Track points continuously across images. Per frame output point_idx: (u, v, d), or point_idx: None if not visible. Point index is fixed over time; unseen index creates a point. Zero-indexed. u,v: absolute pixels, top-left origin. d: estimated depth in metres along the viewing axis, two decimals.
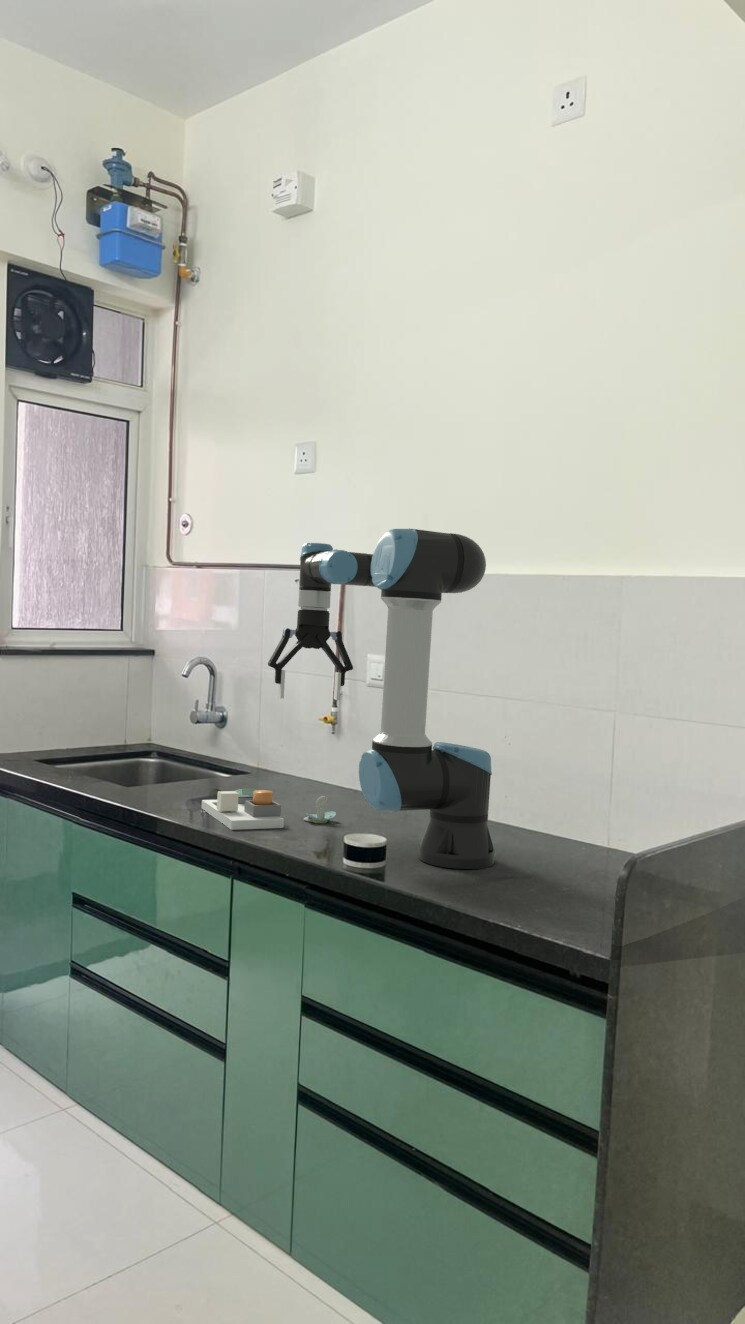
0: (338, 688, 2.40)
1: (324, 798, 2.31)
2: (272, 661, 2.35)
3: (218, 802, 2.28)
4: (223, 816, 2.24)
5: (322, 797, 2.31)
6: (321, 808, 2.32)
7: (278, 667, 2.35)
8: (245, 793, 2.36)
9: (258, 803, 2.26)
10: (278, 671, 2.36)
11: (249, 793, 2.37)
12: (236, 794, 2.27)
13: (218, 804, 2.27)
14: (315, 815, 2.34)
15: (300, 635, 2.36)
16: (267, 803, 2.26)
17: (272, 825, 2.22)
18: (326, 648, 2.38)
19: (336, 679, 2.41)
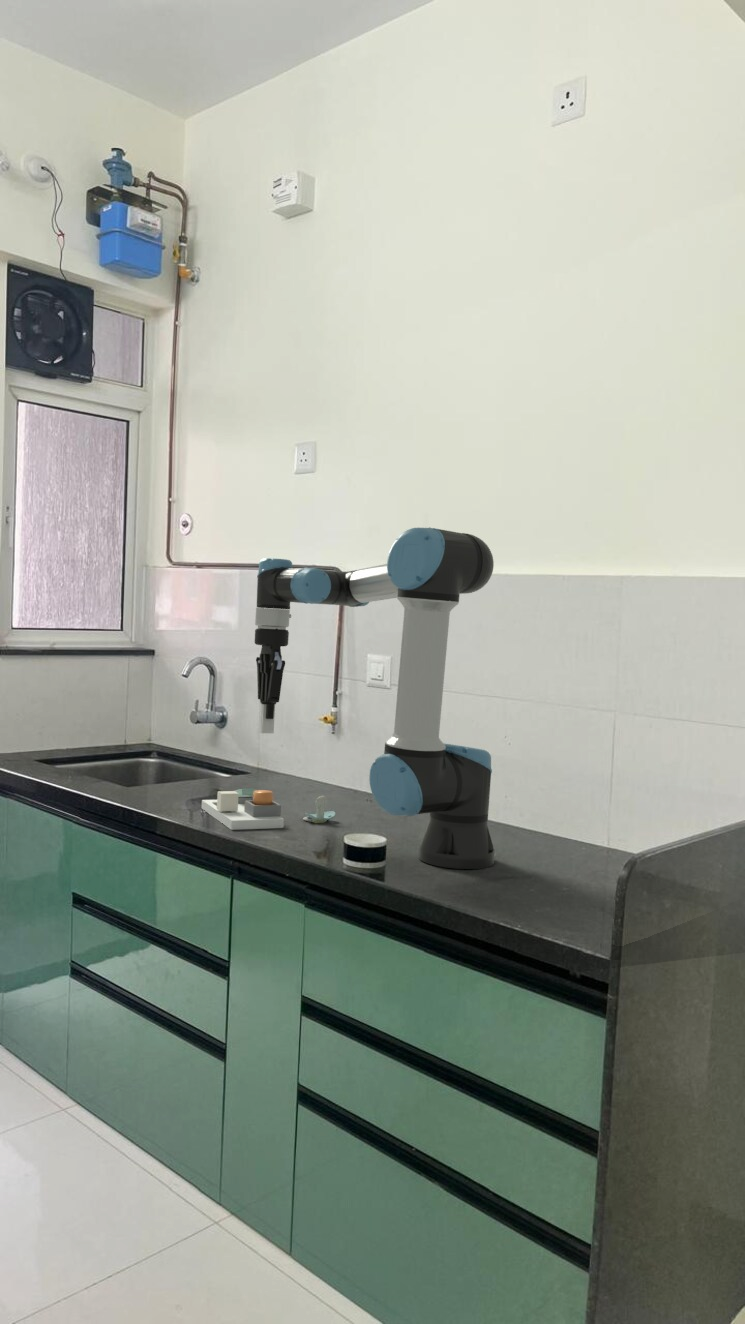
0: (262, 720, 2.26)
1: (323, 798, 2.32)
2: (258, 694, 2.29)
3: (218, 802, 2.28)
4: (223, 816, 2.24)
5: (321, 797, 2.32)
6: (320, 808, 2.32)
7: (260, 701, 2.28)
8: (245, 793, 2.36)
9: (258, 803, 2.26)
10: None
11: (249, 793, 2.37)
12: (236, 794, 2.27)
13: (218, 804, 2.27)
14: (314, 815, 2.34)
15: None
16: (267, 803, 2.26)
17: (272, 825, 2.22)
18: (264, 671, 2.25)
19: None
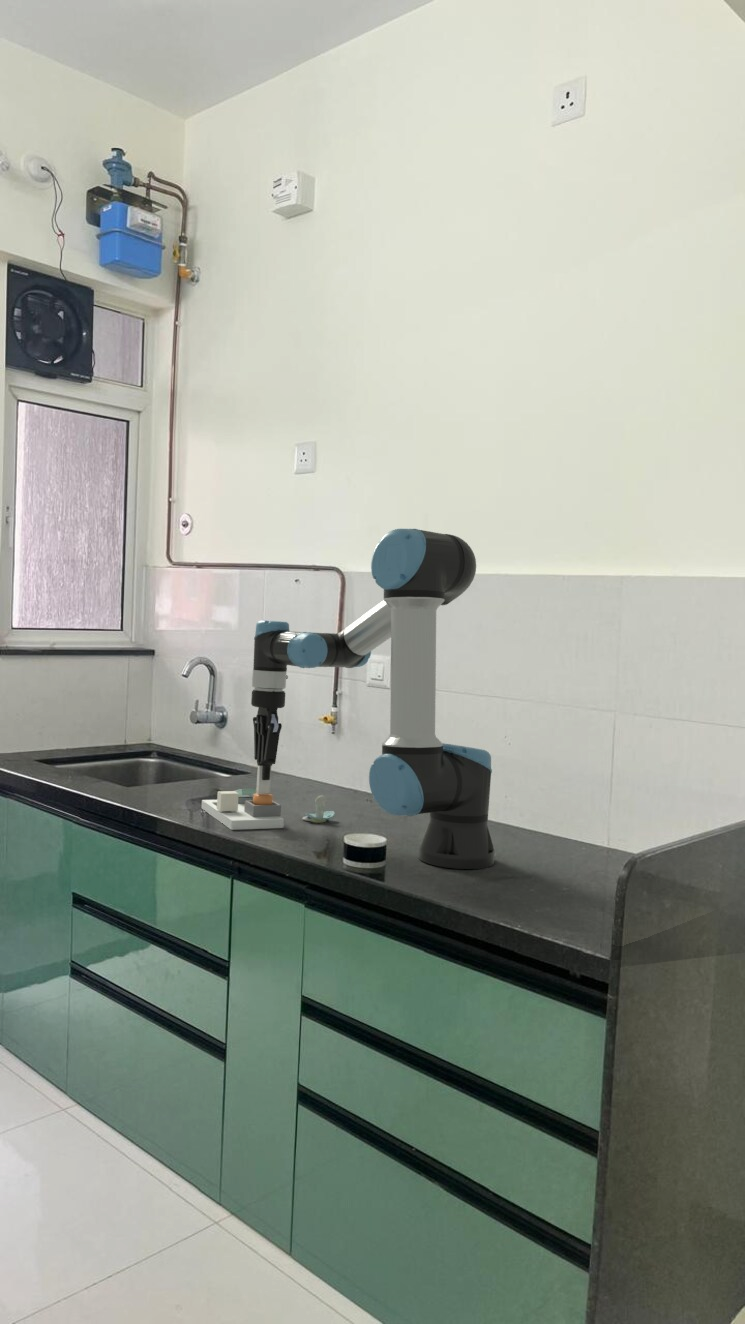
0: (258, 781, 2.27)
1: (323, 797, 2.32)
2: None
3: (218, 802, 2.28)
4: (223, 816, 2.24)
5: (321, 796, 2.32)
6: (320, 807, 2.32)
7: (257, 761, 2.28)
8: (245, 793, 2.36)
9: None
10: None
11: (249, 793, 2.37)
12: (236, 794, 2.27)
13: (218, 804, 2.27)
14: (314, 815, 2.35)
15: None
16: None
17: (272, 825, 2.22)
18: (260, 732, 2.25)
19: None
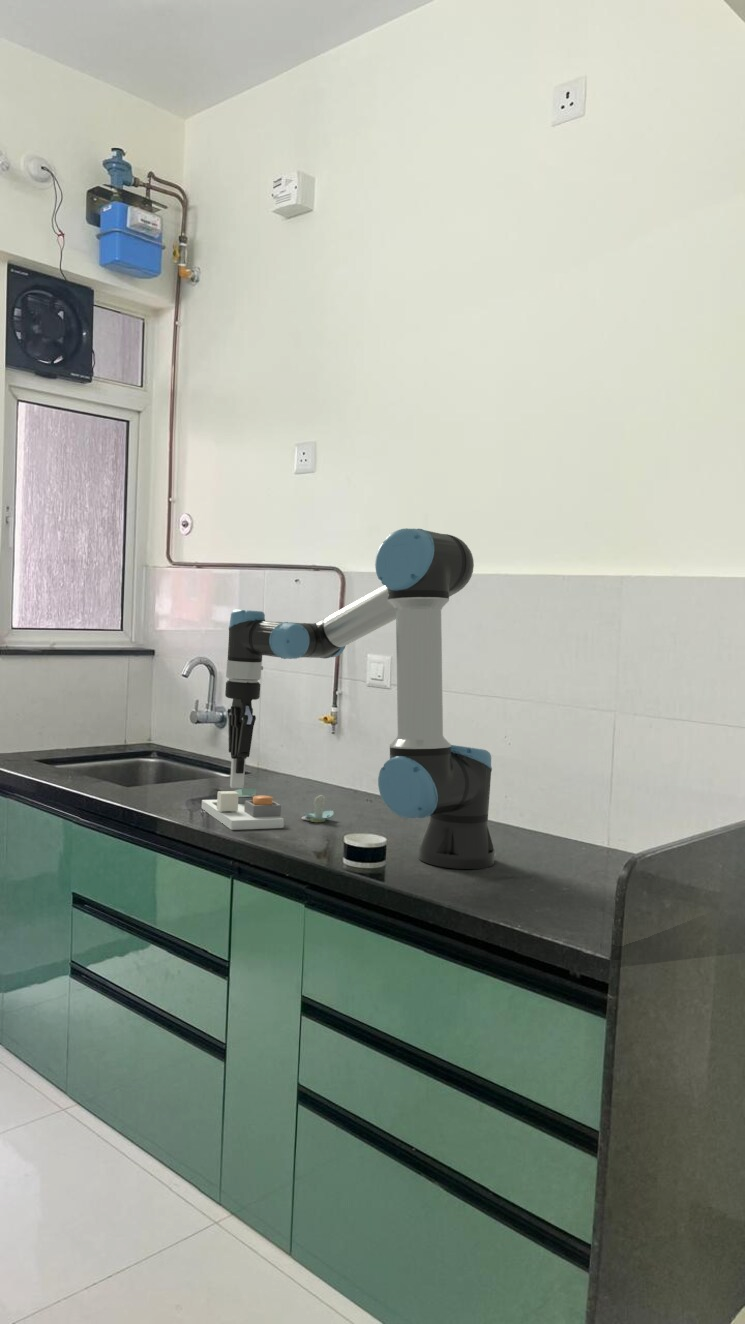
0: (231, 775, 2.21)
1: (322, 797, 2.32)
2: (229, 747, 2.24)
3: (218, 802, 2.28)
4: (223, 816, 2.24)
5: (320, 796, 2.32)
6: (319, 807, 2.32)
7: (231, 754, 2.22)
8: (245, 793, 2.36)
9: None
10: None
11: (249, 793, 2.37)
12: (236, 794, 2.27)
13: (218, 804, 2.27)
14: (313, 814, 2.35)
15: None
16: None
17: (272, 825, 2.22)
18: (234, 724, 2.20)
19: None
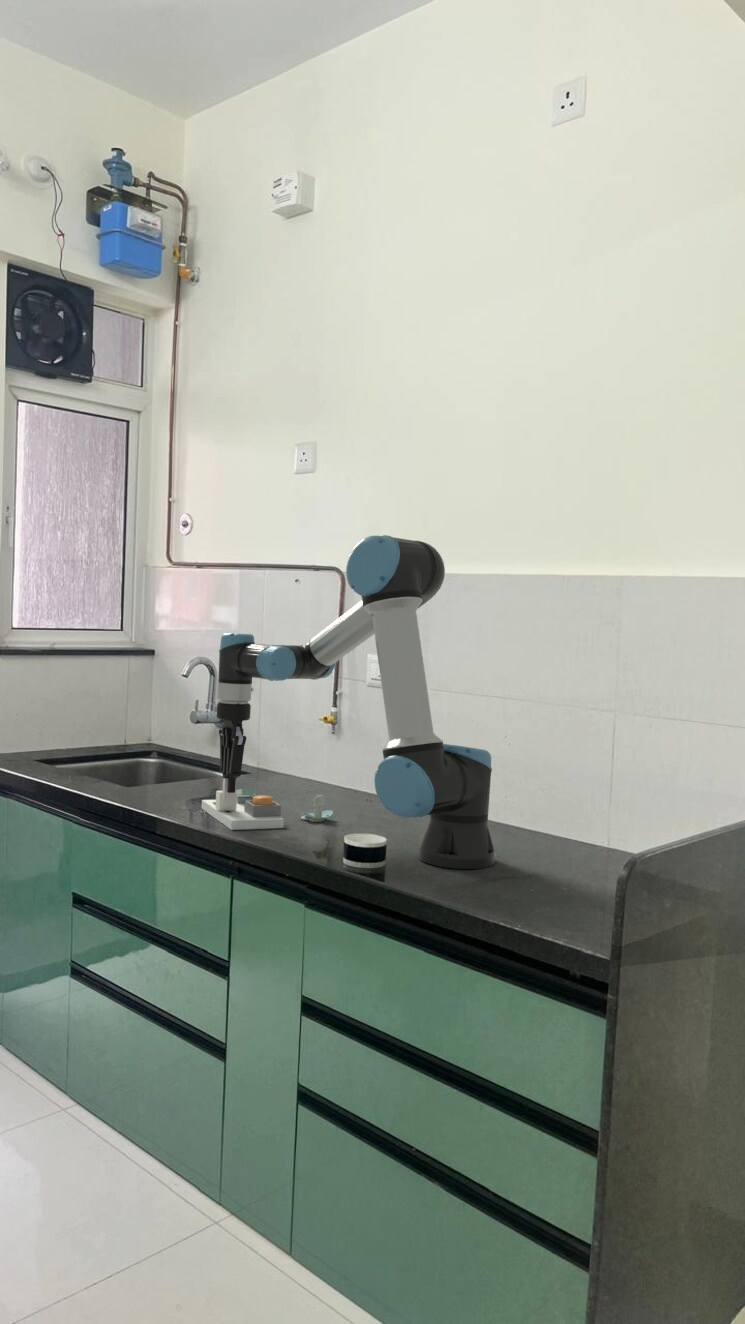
0: (223, 794, 2.26)
1: (321, 797, 2.33)
2: (220, 766, 2.30)
3: (217, 801, 2.29)
4: (223, 816, 2.24)
5: (319, 796, 2.33)
6: (318, 807, 2.33)
7: (222, 774, 2.28)
8: (245, 793, 2.36)
9: None
10: None
11: (249, 793, 2.37)
12: None
13: (217, 803, 2.28)
14: (312, 814, 2.35)
15: None
16: None
17: (272, 825, 2.22)
18: (225, 745, 2.25)
19: None
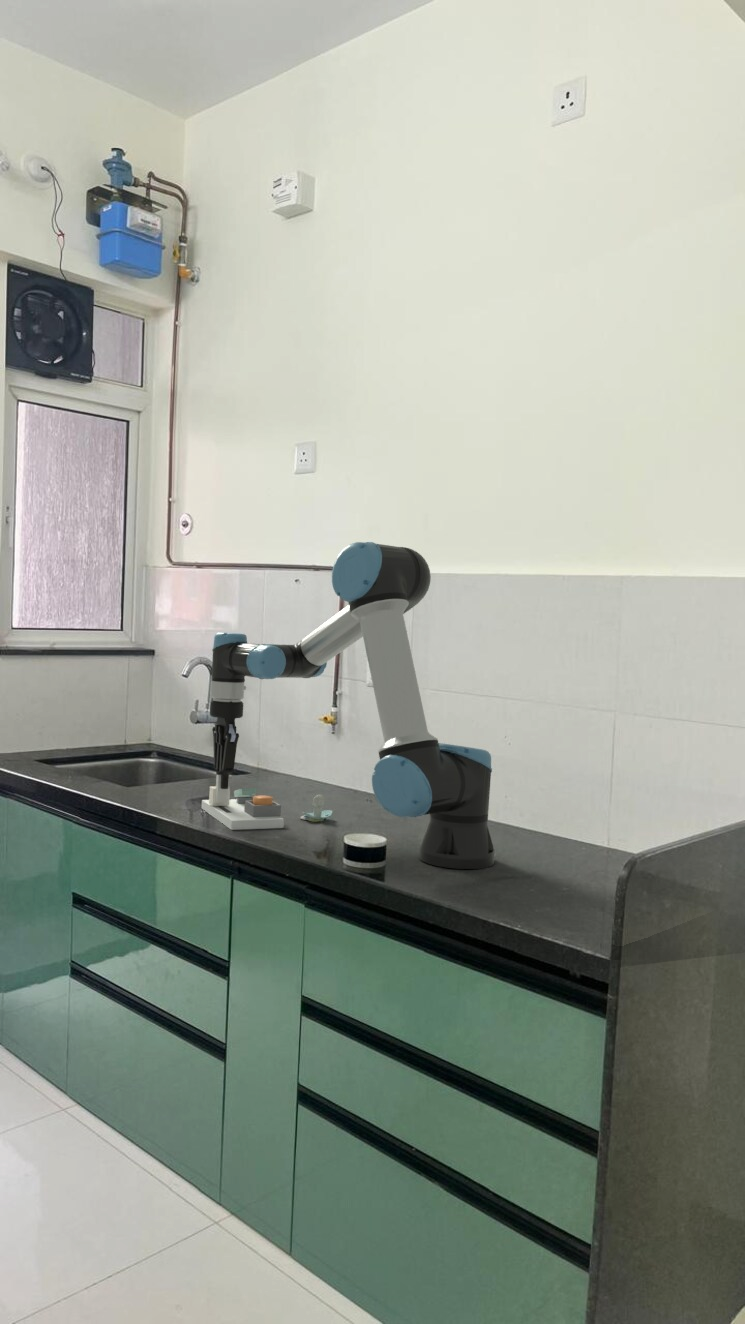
0: (217, 790, 2.31)
1: (320, 797, 2.33)
2: (214, 763, 2.34)
3: (210, 797, 2.34)
4: (223, 816, 2.24)
5: (318, 796, 2.33)
6: (317, 807, 2.33)
7: (216, 770, 2.33)
8: (245, 793, 2.36)
9: None
10: None
11: (249, 793, 2.37)
12: None
13: (210, 798, 2.33)
14: (312, 814, 2.36)
15: None
16: None
17: (272, 825, 2.22)
18: (219, 742, 2.30)
19: None
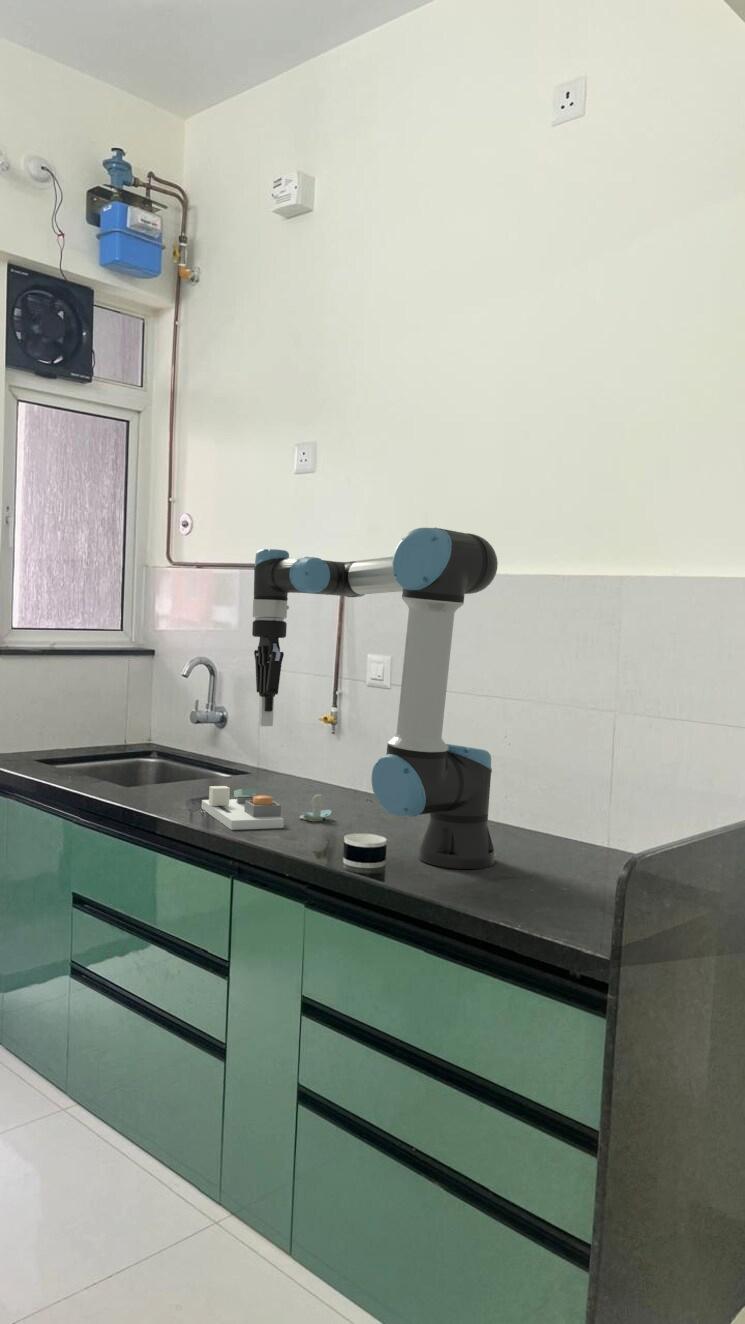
0: (260, 713, 2.23)
1: (320, 796, 2.33)
2: (256, 687, 2.27)
3: (210, 797, 2.34)
4: (223, 816, 2.24)
5: (318, 795, 2.33)
6: (317, 806, 2.33)
7: (259, 693, 2.25)
8: (245, 793, 2.36)
9: None
10: None
11: (249, 793, 2.37)
12: (227, 789, 2.34)
13: (210, 798, 2.34)
14: (311, 813, 2.36)
15: None
16: None
17: (272, 825, 2.22)
18: (262, 663, 2.22)
19: None
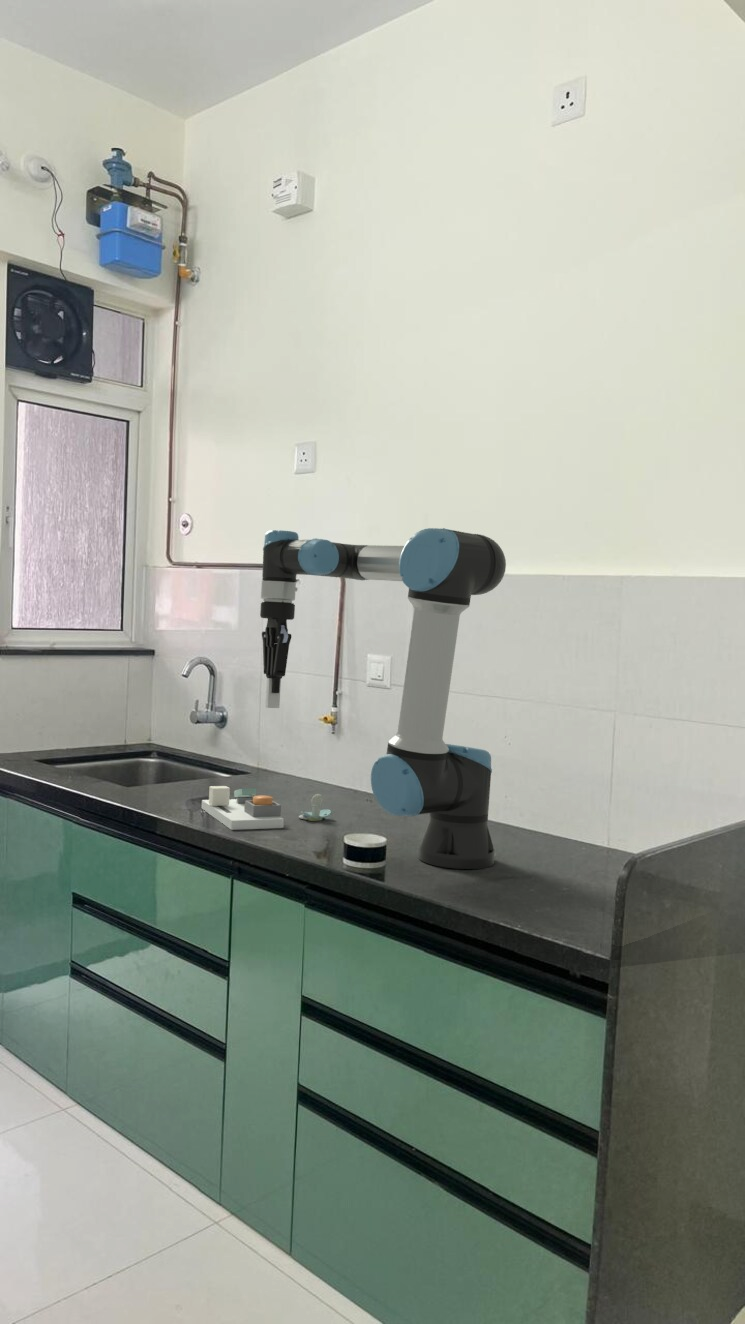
0: (267, 695, 2.23)
1: (319, 796, 2.34)
2: (264, 668, 2.26)
3: (210, 797, 2.34)
4: (223, 816, 2.24)
5: (317, 795, 2.34)
6: (316, 806, 2.34)
7: (266, 675, 2.25)
8: (245, 793, 2.36)
9: None
10: None
11: (249, 793, 2.37)
12: (227, 789, 2.34)
13: (210, 798, 2.34)
14: (310, 813, 2.36)
15: None
16: None
17: (272, 825, 2.22)
18: (270, 644, 2.22)
19: None
